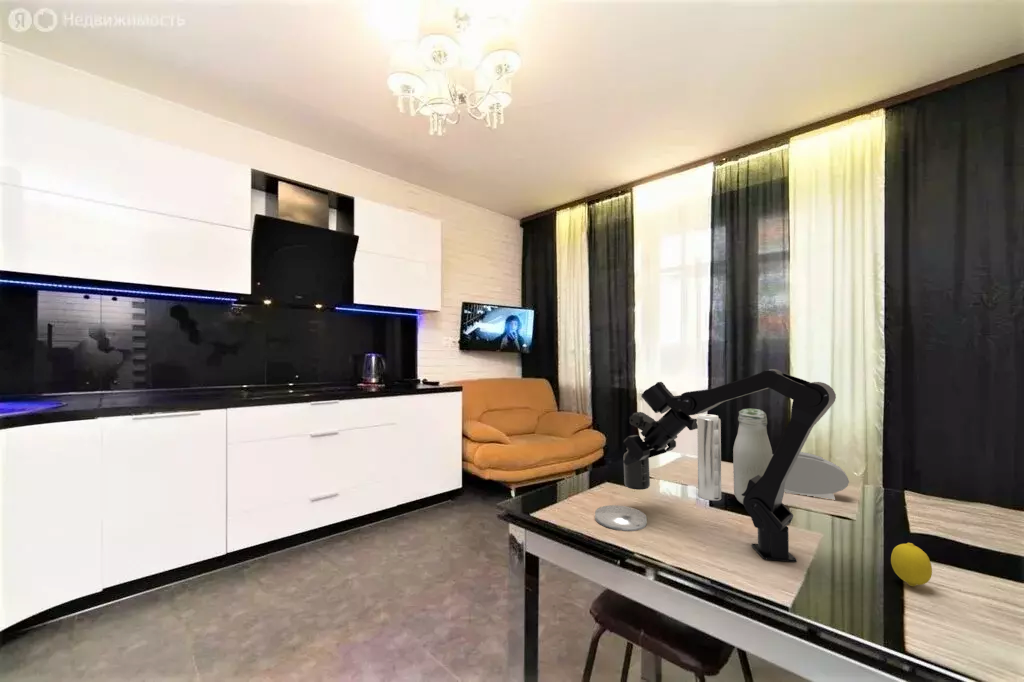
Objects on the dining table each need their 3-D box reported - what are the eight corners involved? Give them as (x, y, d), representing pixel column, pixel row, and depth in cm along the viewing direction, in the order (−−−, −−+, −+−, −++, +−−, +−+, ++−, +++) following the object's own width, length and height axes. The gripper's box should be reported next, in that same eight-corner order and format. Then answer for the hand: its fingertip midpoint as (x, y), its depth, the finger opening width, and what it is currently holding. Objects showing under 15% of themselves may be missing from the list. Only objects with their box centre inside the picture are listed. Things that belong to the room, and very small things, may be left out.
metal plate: (650, 532, 99) (650, 526, 99) (596, 528, 101) (596, 522, 101) (642, 512, 111) (642, 506, 111) (594, 509, 113) (594, 503, 114)
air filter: (699, 499, 122) (698, 415, 123) (696, 492, 128) (695, 413, 129) (723, 501, 120) (722, 417, 121) (719, 494, 126) (718, 414, 127)
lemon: (910, 578, 79) (909, 536, 80) (941, 594, 74) (940, 549, 74) (883, 578, 79) (882, 536, 79) (912, 595, 74) (911, 550, 74)
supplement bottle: (645, 482, 117) (644, 440, 117) (653, 490, 110) (652, 445, 110) (621, 482, 117) (620, 440, 117) (627, 490, 110) (626, 446, 110)
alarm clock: (846, 497, 125) (845, 455, 125) (849, 503, 119) (848, 460, 120) (758, 484, 137) (758, 446, 138) (757, 489, 132) (757, 449, 133)
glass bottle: (734, 508, 115) (732, 409, 116) (733, 497, 124) (732, 405, 125) (775, 515, 110) (773, 411, 111) (771, 503, 119) (770, 407, 120)
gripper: (665, 401, 117) (631, 434, 125) (629, 406, 105) (595, 442, 113) (692, 432, 111) (655, 464, 119) (658, 441, 99) (619, 477, 107)
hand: (631, 461), depth 114 cm, fingers closed on supplement bottle, 7 cm apart
